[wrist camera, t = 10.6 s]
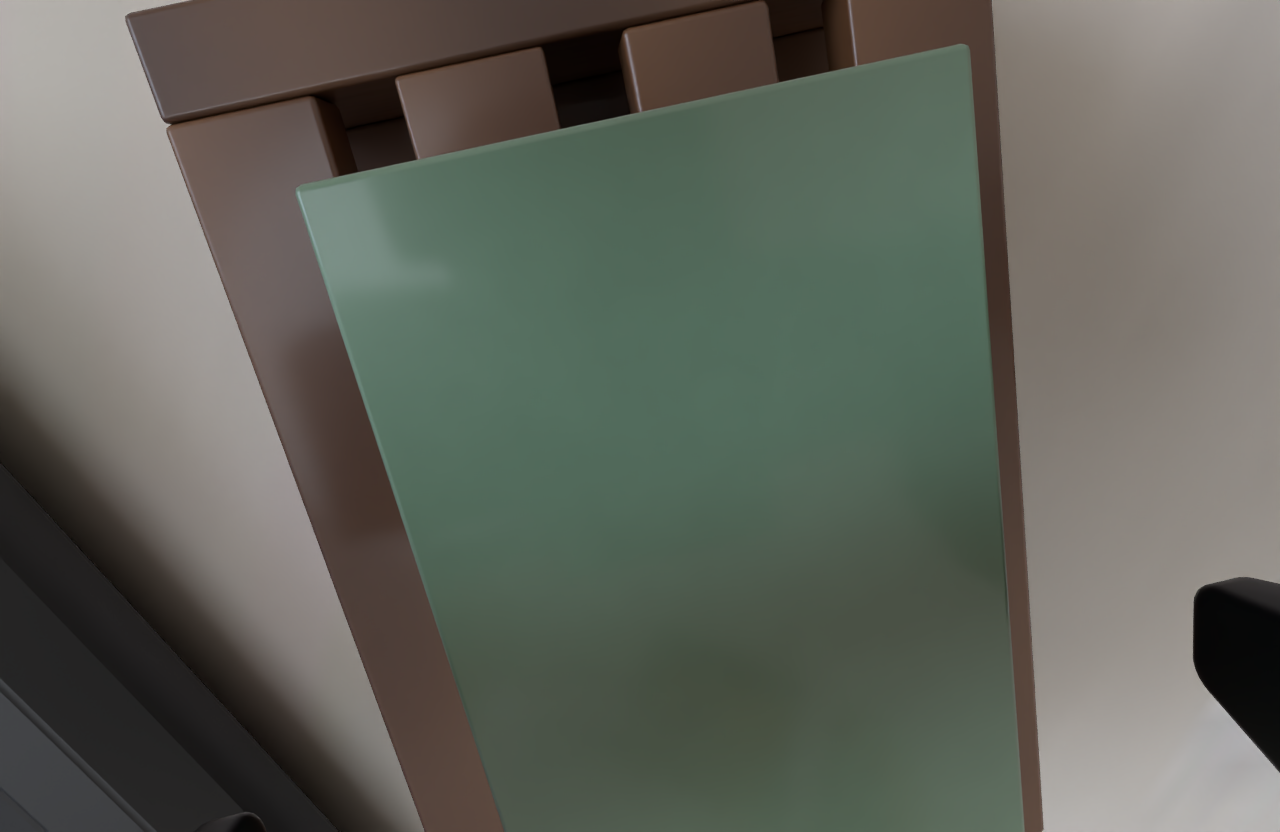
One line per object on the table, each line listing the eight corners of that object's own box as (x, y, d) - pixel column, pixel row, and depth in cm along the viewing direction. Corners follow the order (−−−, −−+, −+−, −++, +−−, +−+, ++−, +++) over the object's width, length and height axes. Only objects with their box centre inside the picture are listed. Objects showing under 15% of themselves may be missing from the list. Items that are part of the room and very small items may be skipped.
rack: (836, -36, 13) (983, -169, 9) (922, 703, 18) (1049, 885, 13) (284, 80, 13) (118, 13, 8) (514, 799, 18) (493, 1021, 13)
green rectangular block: (898, 806, 12) (1044, 1077, 9) (604, 877, 12) (617, 1185, 8) (806, 106, 9) (973, 39, 5) (409, 192, 9) (289, 186, 5)
